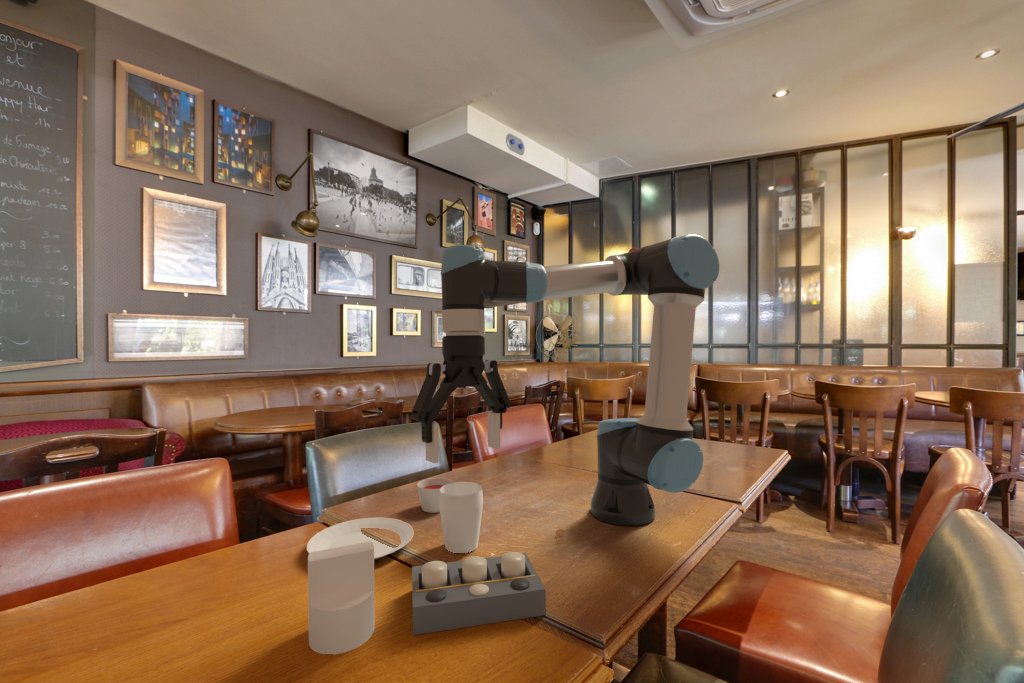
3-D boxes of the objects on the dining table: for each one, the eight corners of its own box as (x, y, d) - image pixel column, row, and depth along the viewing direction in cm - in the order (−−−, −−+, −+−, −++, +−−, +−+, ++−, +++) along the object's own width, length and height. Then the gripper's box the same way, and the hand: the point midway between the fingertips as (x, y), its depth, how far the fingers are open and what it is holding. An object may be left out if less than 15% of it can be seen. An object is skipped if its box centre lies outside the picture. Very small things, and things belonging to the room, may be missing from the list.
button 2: (484, 577, 76) (484, 554, 76) (488, 590, 72) (488, 566, 72) (461, 580, 75) (460, 557, 75) (464, 593, 71) (463, 569, 71)
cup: (476, 559, 87) (476, 497, 87) (432, 555, 89) (432, 494, 89) (488, 539, 96) (487, 482, 96) (448, 535, 98) (447, 480, 98)
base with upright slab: (308, 662, 59) (307, 572, 59) (309, 623, 68) (308, 544, 68) (378, 643, 63) (377, 558, 63) (371, 608, 71) (370, 533, 71)
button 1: (521, 572, 78) (521, 550, 78) (527, 584, 74) (527, 561, 74) (499, 575, 77) (499, 553, 77) (504, 588, 73) (503, 564, 73)
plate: (344, 523, 105) (344, 514, 105) (429, 530, 101) (429, 520, 101) (282, 568, 85) (282, 556, 85) (384, 579, 80) (384, 566, 80)
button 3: (446, 582, 75) (445, 559, 75) (448, 595, 71) (448, 571, 71) (421, 585, 74) (421, 562, 74) (422, 599, 70) (422, 574, 70)
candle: (440, 499, 120) (440, 475, 120) (460, 508, 114) (460, 483, 114) (410, 507, 114) (410, 483, 114) (429, 518, 107) (429, 491, 107)
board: (525, 575, 81) (525, 552, 81) (545, 614, 69) (545, 587, 69) (412, 590, 76) (412, 565, 76) (412, 635, 65) (412, 606, 65)
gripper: (502, 334, 91) (503, 439, 91) (388, 334, 74) (390, 463, 74) (528, 334, 85) (529, 445, 85) (411, 334, 68) (413, 473, 68)
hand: (464, 454), depth 80 cm, fingers open, 13 cm apart
